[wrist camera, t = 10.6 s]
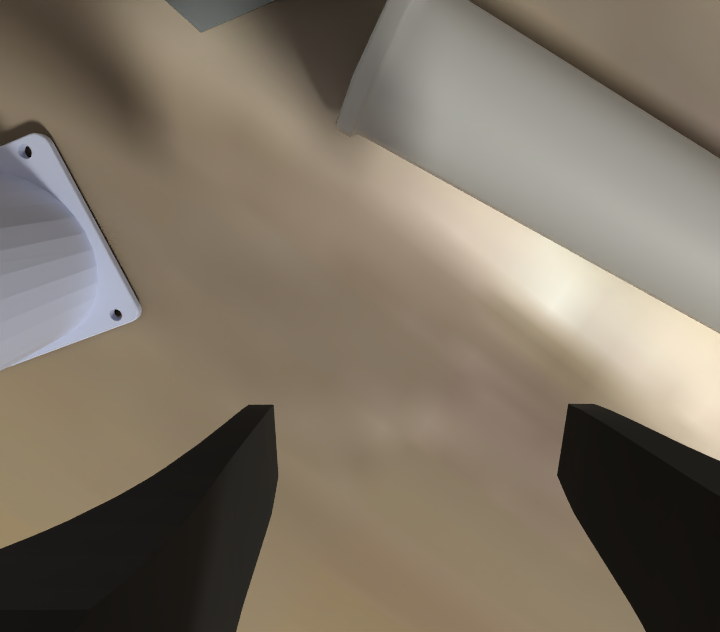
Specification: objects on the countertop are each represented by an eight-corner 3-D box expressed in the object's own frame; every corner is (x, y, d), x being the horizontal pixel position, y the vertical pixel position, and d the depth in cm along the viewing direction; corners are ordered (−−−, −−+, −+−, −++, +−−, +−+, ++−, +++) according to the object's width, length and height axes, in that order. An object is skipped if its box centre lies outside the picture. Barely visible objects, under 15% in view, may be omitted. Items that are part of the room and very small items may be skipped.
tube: (1037, 309, 16) (429, -88, 12) (983, 446, 16) (345, 83, 12) (851, 308, 21) (387, 31, 17) (808, 411, 21) (328, 152, 17)
